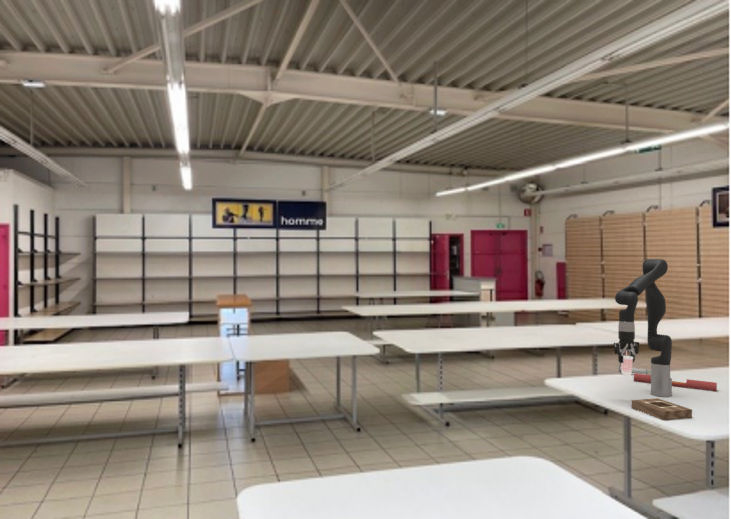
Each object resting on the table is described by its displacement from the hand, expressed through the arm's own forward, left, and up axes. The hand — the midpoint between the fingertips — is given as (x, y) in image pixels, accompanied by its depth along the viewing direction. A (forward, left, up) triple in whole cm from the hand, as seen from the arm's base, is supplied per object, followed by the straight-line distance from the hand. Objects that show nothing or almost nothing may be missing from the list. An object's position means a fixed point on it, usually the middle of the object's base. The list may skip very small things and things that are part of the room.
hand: (626, 362), depth 263 cm
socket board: (-4, +18, -21) cm, 28 cm away
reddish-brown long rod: (-56, -26, -22) cm, 65 cm away
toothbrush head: (-55, -53, -22) cm, 80 cm away
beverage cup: (0, 0, -6) cm, 6 cm away
